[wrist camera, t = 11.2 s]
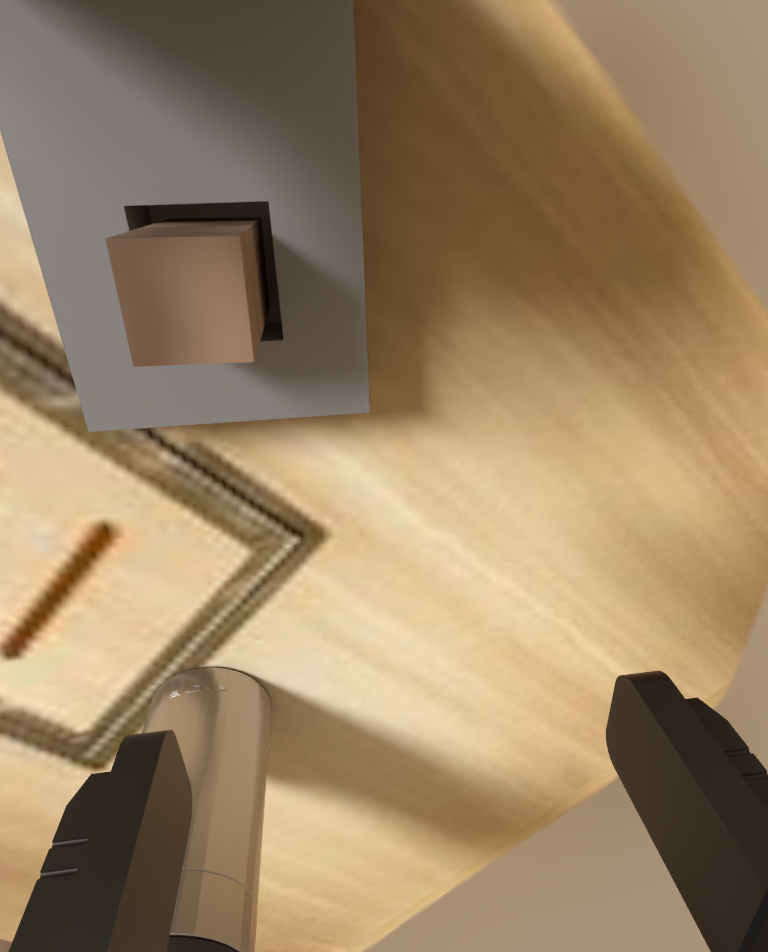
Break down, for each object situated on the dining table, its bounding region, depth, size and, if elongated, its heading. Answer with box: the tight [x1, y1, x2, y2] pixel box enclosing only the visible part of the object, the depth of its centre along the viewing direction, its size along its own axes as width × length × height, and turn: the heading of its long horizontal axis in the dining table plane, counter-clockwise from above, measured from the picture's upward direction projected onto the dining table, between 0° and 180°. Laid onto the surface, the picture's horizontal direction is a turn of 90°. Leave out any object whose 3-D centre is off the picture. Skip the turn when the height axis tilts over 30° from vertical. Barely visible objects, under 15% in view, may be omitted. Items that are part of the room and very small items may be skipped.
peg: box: [105, 217, 270, 367], centre depth 25 cm, size 4×4×10 cm
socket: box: [0, 0, 370, 432], centre depth 27 cm, size 18×14×5 cm
